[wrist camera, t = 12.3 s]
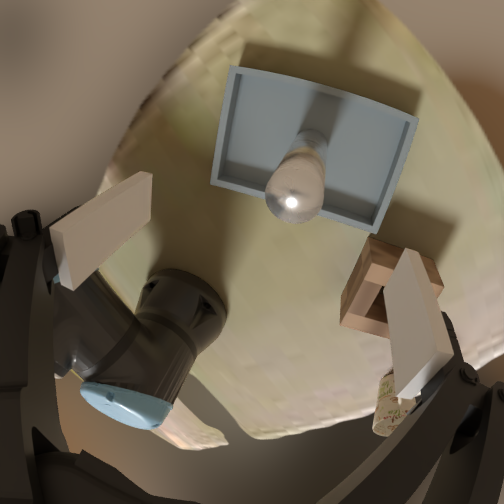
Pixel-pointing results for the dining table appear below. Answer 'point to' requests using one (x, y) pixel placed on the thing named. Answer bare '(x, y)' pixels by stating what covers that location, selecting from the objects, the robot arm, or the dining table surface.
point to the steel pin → (299, 179)
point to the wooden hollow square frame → (376, 287)
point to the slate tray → (326, 122)
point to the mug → (389, 407)
